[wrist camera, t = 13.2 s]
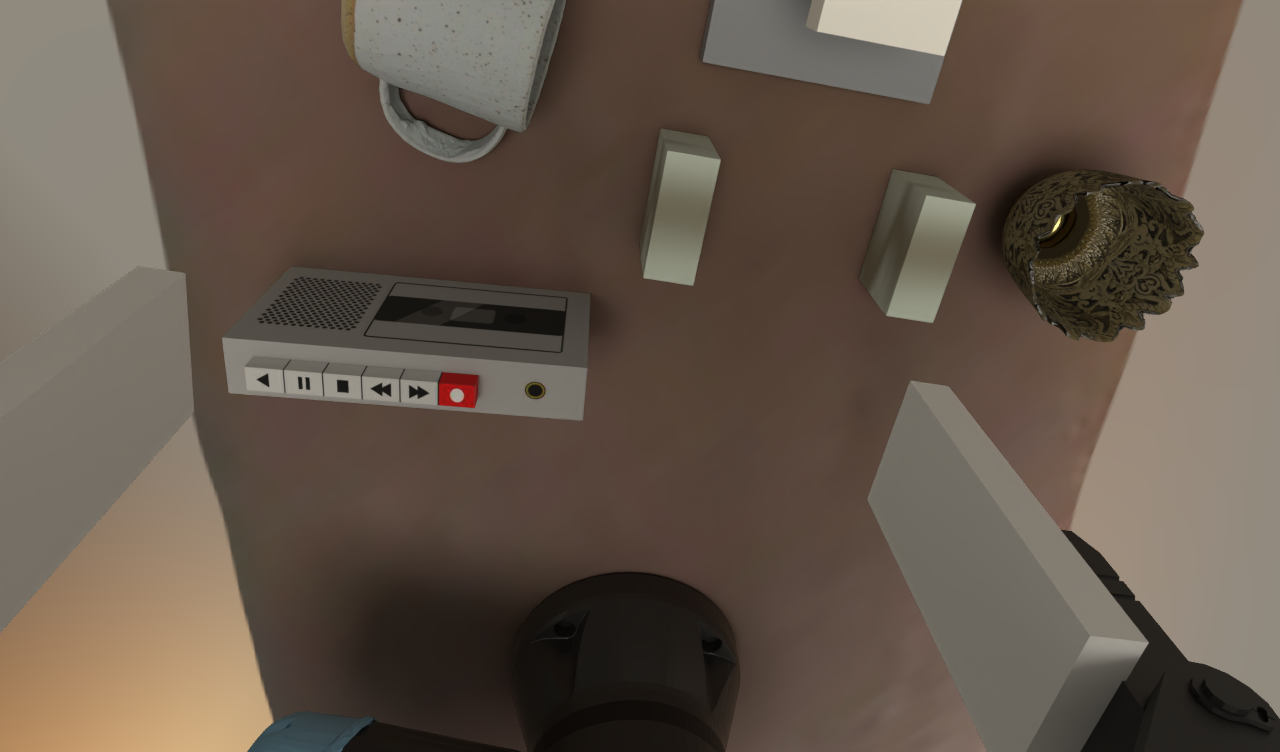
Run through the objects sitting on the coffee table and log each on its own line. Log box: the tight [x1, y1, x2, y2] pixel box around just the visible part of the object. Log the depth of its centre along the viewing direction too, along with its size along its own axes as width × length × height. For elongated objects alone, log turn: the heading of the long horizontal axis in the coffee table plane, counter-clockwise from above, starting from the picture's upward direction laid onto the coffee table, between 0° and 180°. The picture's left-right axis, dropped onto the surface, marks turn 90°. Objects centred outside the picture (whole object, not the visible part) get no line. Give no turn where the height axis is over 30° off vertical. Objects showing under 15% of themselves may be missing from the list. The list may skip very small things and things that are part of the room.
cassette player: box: [222, 266, 591, 421], centre depth 41 cm, size 16×3×10 cm, turn 84°
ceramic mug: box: [341, 0, 566, 163], centre depth 36 cm, size 11×8×8 cm
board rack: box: [639, 128, 976, 323], centre depth 41 cm, size 6×14×5 cm, turn 80°
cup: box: [1002, 170, 1204, 342], centre depth 41 cm, size 8×7×8 cm
